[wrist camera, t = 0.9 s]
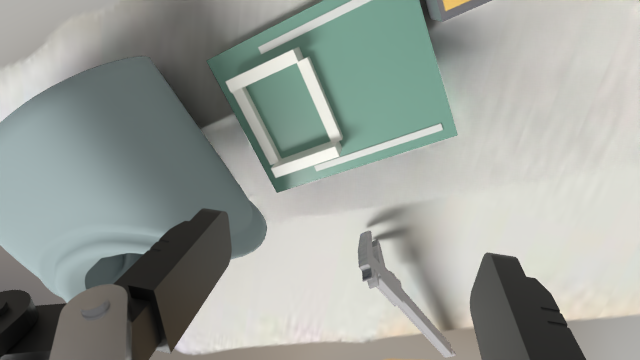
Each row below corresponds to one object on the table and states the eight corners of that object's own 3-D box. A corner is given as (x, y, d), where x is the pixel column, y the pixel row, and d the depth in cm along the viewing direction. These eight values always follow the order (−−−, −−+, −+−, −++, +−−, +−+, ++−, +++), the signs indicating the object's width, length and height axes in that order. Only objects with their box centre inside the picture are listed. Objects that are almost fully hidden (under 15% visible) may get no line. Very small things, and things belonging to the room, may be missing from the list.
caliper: (360, 230, 36) (353, 270, 30) (369, 226, 35) (363, 266, 30) (447, 353, 41) (455, 406, 36) (456, 351, 41) (465, 404, 35)
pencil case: (176, 47, 31) (55, 70, 20) (285, 208, 37) (239, 296, 26) (46, 146, 39) (-92, 202, 28) (152, 265, 45) (74, 350, 34)
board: (406, -41, 25) (408, -47, 22) (455, 130, 30) (462, 143, 27) (212, 58, 31) (194, 63, 28) (280, 187, 36) (270, 202, 33)
